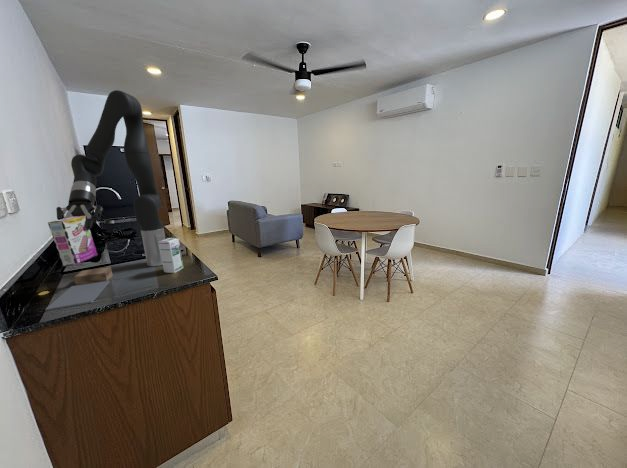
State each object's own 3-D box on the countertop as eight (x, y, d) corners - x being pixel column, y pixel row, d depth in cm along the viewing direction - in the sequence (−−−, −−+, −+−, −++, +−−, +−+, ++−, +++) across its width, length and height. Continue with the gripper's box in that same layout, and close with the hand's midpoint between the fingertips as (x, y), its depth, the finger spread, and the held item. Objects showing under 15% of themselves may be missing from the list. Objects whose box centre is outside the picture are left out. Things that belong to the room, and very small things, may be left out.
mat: (109, 281, 103) (109, 280, 103) (91, 303, 86) (91, 301, 86) (72, 287, 98) (71, 286, 98) (45, 310, 82) (45, 309, 82)
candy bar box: (78, 265, 91) (61, 220, 86) (63, 267, 90) (45, 222, 86) (99, 254, 101) (85, 214, 97) (86, 256, 101) (71, 216, 96)
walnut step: (112, 275, 109) (110, 266, 108) (107, 281, 103) (105, 272, 102) (83, 279, 105) (81, 270, 104) (76, 286, 99) (73, 277, 98)
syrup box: (175, 273, 110) (169, 241, 107) (163, 272, 111) (157, 240, 108) (184, 268, 116) (179, 237, 112) (172, 267, 117) (167, 237, 113)
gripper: (54, 189, 97) (45, 225, 89) (101, 188, 102) (96, 222, 94) (65, 201, 103) (57, 236, 95) (108, 199, 108) (104, 232, 101)
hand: (77, 229), depth 95 cm, fingers closed on candy bar box, 5 cm apart
